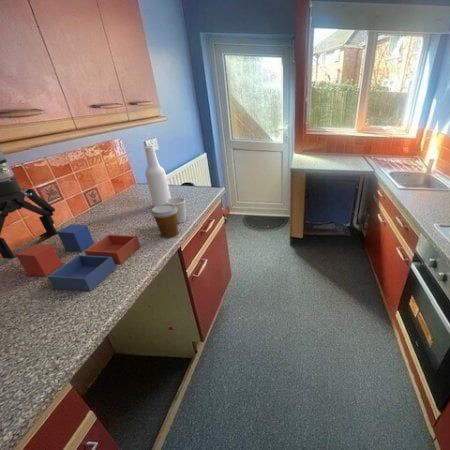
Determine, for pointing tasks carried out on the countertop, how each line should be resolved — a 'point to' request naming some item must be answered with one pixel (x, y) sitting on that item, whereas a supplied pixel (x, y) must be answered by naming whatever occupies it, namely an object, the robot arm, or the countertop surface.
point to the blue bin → (82, 272)
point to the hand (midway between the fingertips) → (32, 245)
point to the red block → (39, 260)
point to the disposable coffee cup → (166, 219)
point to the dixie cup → (178, 207)
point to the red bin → (115, 247)
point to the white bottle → (156, 178)
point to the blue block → (75, 237)
